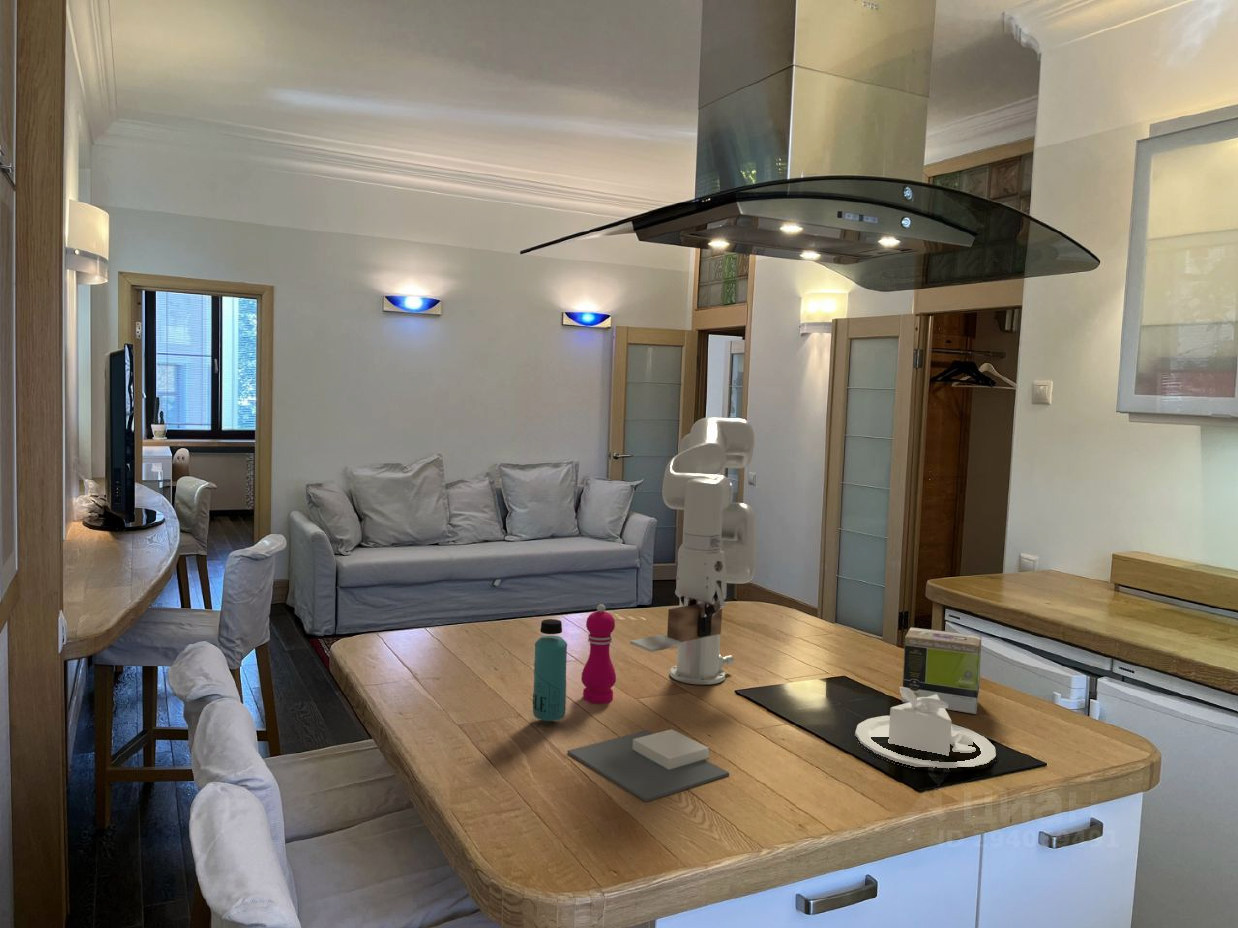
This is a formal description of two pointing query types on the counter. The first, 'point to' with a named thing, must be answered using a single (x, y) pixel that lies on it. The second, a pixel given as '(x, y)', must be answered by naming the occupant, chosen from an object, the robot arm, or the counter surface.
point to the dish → (923, 733)
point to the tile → (670, 749)
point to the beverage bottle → (550, 673)
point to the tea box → (943, 667)
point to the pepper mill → (599, 658)
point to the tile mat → (643, 768)
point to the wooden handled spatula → (679, 629)
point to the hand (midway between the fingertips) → (697, 632)
